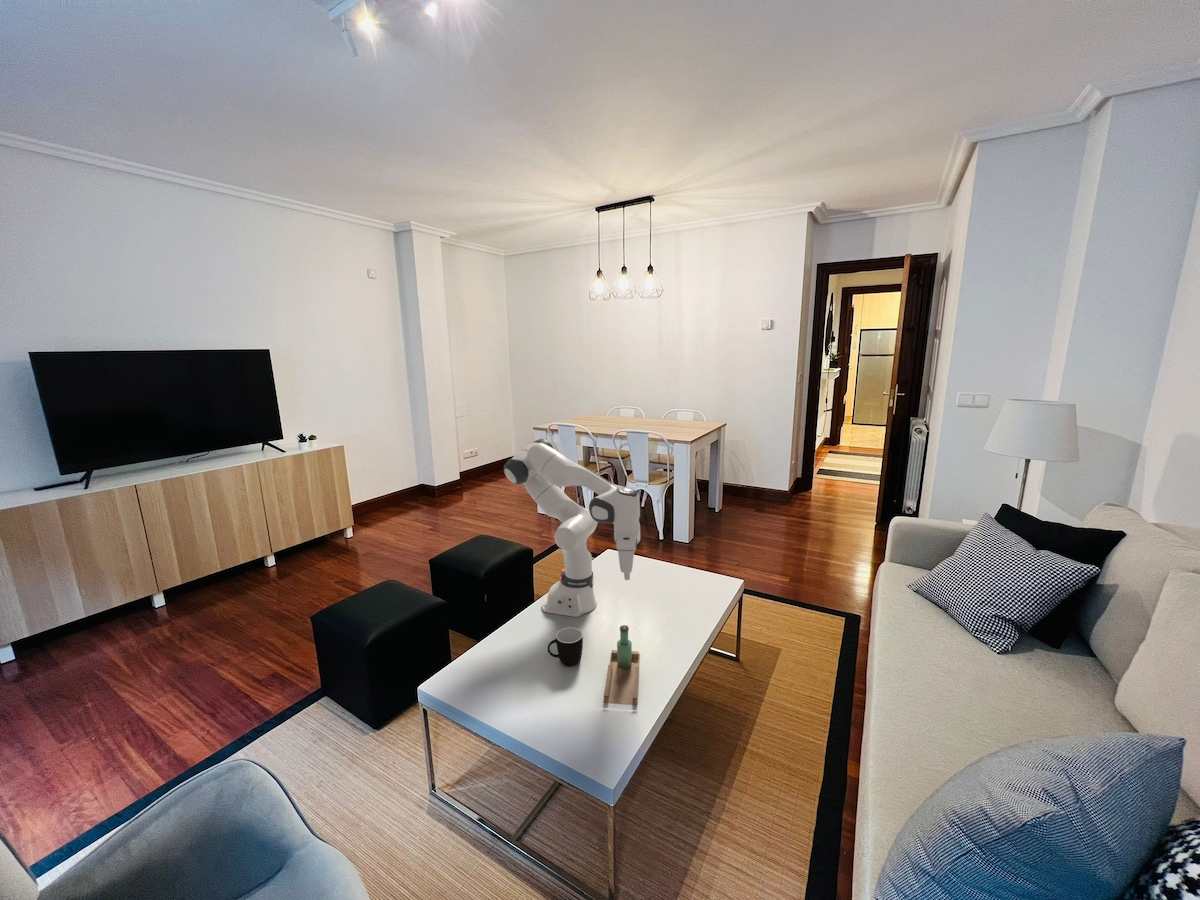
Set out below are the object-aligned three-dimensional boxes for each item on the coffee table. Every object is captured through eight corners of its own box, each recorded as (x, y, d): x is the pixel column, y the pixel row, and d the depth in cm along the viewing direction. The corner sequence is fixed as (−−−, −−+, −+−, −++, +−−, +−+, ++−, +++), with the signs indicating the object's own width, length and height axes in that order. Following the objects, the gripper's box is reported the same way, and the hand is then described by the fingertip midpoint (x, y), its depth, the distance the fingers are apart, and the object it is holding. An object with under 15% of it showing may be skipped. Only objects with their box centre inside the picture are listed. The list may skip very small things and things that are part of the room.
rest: (603, 703, 144) (603, 695, 144) (611, 652, 167) (611, 646, 167) (637, 705, 143) (637, 697, 142) (639, 654, 166) (640, 647, 166)
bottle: (616, 668, 159) (616, 631, 156) (617, 659, 164) (617, 623, 161) (631, 669, 158) (631, 632, 155) (631, 660, 163) (631, 624, 160)
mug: (582, 651, 168) (582, 626, 166) (584, 668, 160) (583, 642, 157) (548, 654, 167) (547, 628, 165) (547, 671, 159) (546, 644, 156)
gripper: (619, 523, 173) (620, 558, 176) (615, 547, 153) (616, 586, 156) (637, 523, 172) (637, 559, 175) (635, 547, 152) (636, 587, 155)
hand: (627, 572), depth 165 cm, fingers open, 8 cm apart
